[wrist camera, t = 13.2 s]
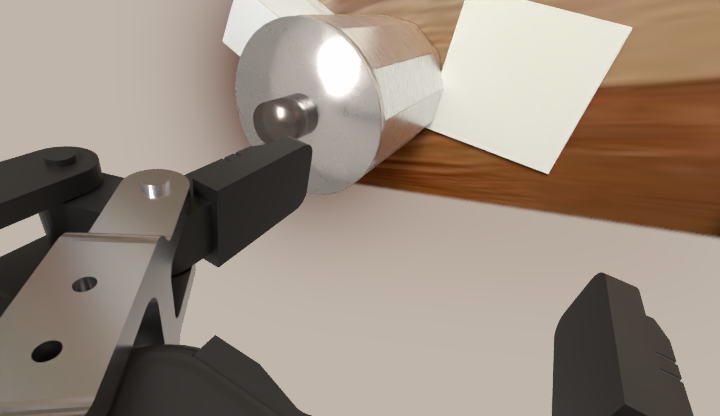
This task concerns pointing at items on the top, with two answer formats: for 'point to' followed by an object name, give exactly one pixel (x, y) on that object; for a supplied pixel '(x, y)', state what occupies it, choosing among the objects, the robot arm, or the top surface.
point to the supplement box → (263, 17)
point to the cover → (338, 90)
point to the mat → (522, 77)
